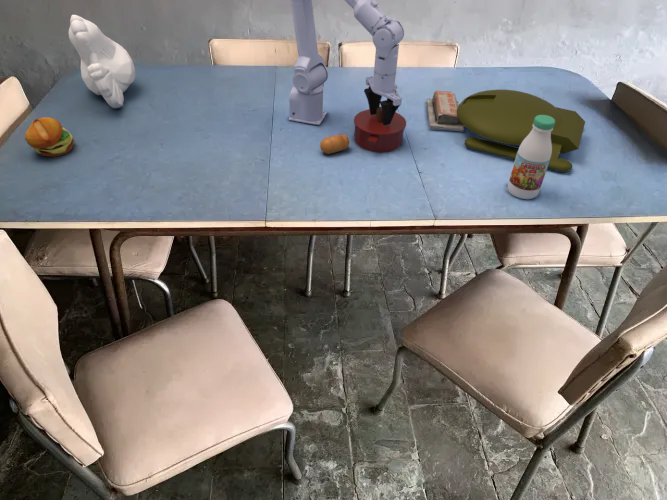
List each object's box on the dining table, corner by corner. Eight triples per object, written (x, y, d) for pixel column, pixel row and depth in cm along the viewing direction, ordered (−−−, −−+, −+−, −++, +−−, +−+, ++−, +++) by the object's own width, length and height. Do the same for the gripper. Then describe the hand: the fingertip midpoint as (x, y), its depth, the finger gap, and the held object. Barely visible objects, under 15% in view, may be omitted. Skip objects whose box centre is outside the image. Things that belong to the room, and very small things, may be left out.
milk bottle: (502, 182, 140) (523, 110, 127) (531, 182, 141) (555, 110, 128) (512, 200, 134) (535, 127, 121) (542, 199, 135) (568, 126, 122)
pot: (346, 152, 149) (347, 134, 145) (363, 120, 163) (364, 103, 159) (395, 160, 146) (397, 142, 143) (407, 128, 160) (409, 111, 157)
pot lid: (347, 132, 148) (348, 116, 144) (360, 108, 158) (361, 93, 155) (400, 141, 145) (402, 125, 142) (409, 116, 155) (412, 101, 152)
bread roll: (324, 158, 146) (325, 143, 143) (317, 150, 149) (317, 136, 146) (351, 151, 149) (352, 137, 146) (343, 143, 152) (344, 129, 149)
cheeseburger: (85, 142, 148) (70, 113, 140) (62, 169, 142) (44, 141, 134) (54, 134, 150) (37, 105, 142) (30, 161, 144) (10, 132, 136)
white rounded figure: (89, 56, 175) (43, 8, 150) (137, 47, 174) (99, -2, 150) (95, 129, 170) (49, 92, 146) (145, 119, 170) (107, 81, 145)
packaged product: (428, 88, 170) (460, 90, 170) (425, 102, 173) (457, 104, 173) (431, 115, 156) (466, 117, 156) (429, 130, 160) (463, 132, 159)
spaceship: (582, 126, 165) (593, 95, 158) (569, 176, 144) (582, 143, 137) (468, 100, 175) (474, 71, 169) (440, 143, 154) (446, 111, 148)
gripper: (414, 79, 138) (407, 127, 147) (382, 58, 148) (378, 105, 157) (390, 84, 136) (385, 133, 145) (360, 62, 145) (357, 110, 154)
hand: (380, 119), depth 150 cm, fingers open, 6 cm apart
